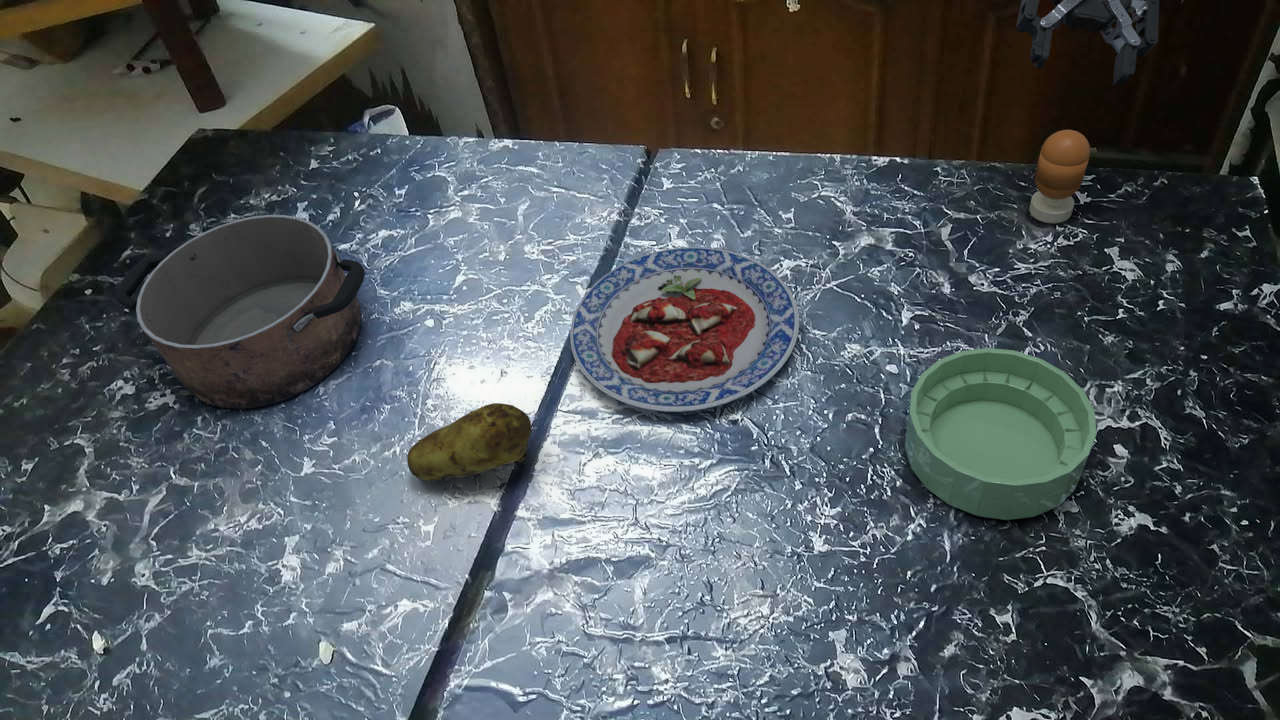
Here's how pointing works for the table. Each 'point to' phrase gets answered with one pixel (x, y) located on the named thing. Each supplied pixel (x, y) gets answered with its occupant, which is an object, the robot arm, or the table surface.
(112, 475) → the table surface
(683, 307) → the ceramic plate
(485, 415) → the potato
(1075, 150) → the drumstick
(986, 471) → the green round shallow dish
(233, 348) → the cooking pot
